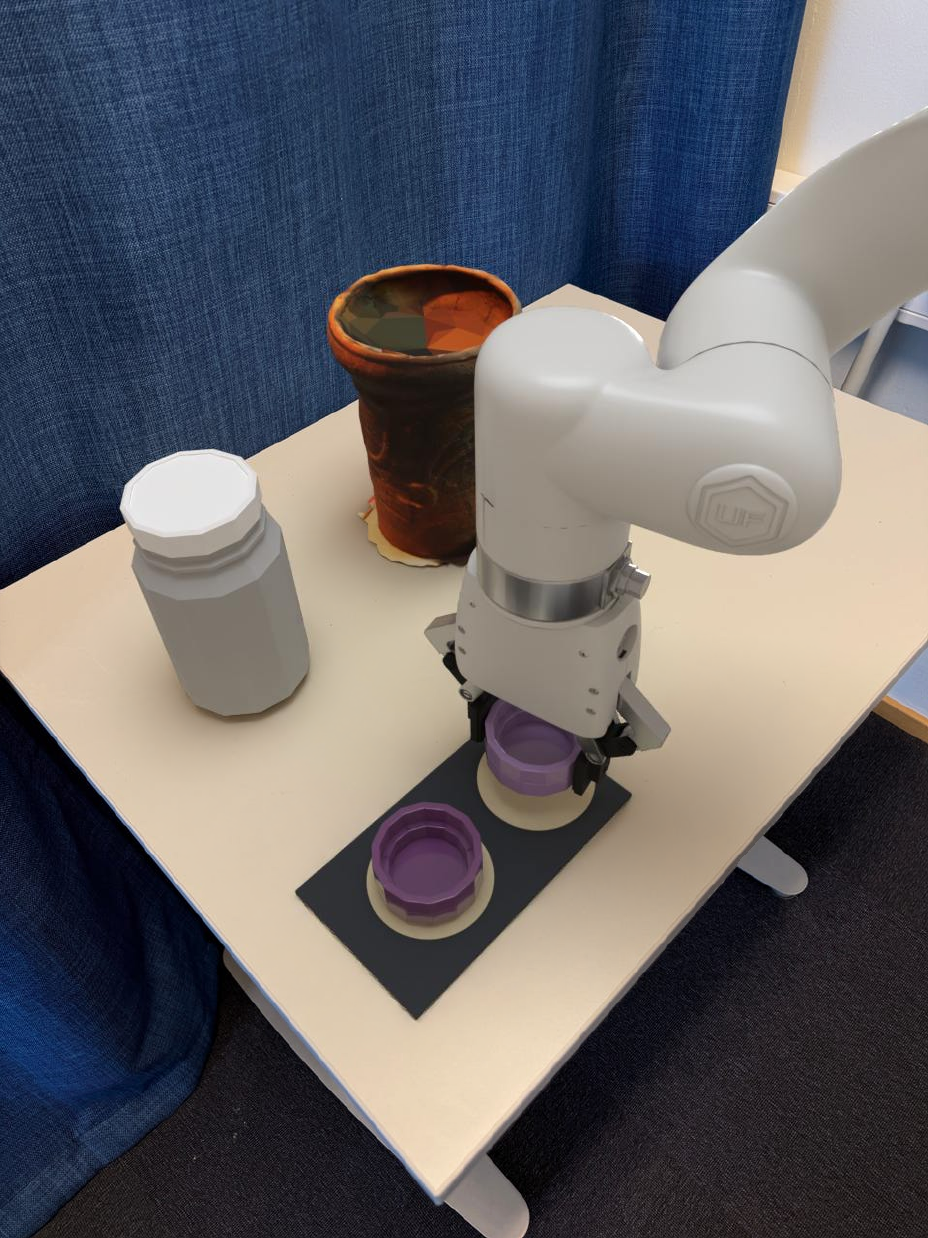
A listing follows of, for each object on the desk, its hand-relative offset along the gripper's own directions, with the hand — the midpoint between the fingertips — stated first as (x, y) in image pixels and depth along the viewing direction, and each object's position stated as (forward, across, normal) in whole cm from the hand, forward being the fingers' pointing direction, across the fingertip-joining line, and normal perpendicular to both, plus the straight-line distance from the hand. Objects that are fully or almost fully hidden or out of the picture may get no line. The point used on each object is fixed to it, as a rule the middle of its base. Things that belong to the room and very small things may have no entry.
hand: (536, 750), depth 59 cm
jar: (+4, +23, +3) cm, 24 cm away
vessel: (+4, +21, -19) cm, 29 cm away
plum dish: (+3, +2, +10) cm, 11 cm away
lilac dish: (+1, 0, 0) cm, 1 cm away
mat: (+4, +1, +6) cm, 7 cm away
